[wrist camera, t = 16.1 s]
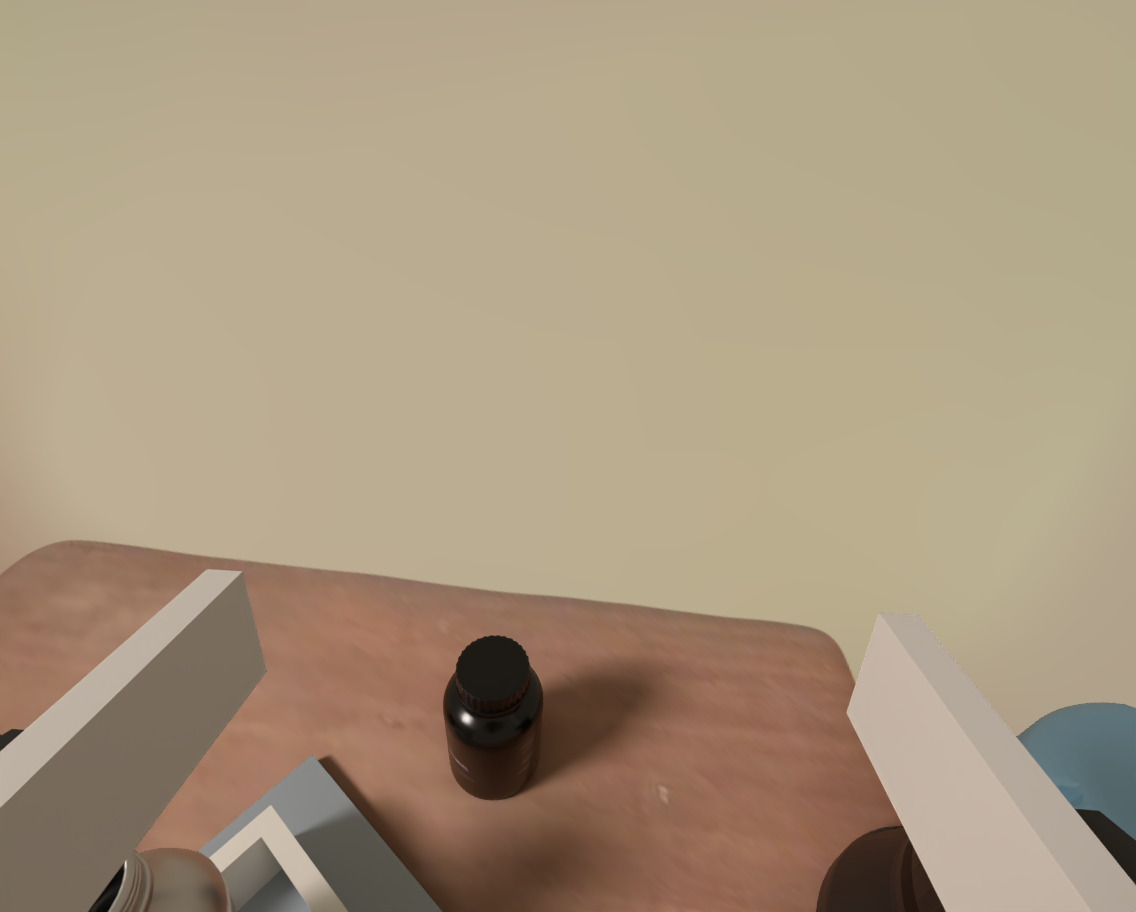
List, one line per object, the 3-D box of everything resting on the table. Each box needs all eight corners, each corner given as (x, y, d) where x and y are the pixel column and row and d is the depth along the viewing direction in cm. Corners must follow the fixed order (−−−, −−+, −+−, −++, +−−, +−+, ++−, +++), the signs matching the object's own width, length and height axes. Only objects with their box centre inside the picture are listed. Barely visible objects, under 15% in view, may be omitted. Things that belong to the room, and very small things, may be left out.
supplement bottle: (433, 786, 40) (416, 696, 33) (473, 702, 45) (465, 609, 38) (521, 818, 39) (523, 731, 32) (551, 727, 44) (558, 636, 37)
